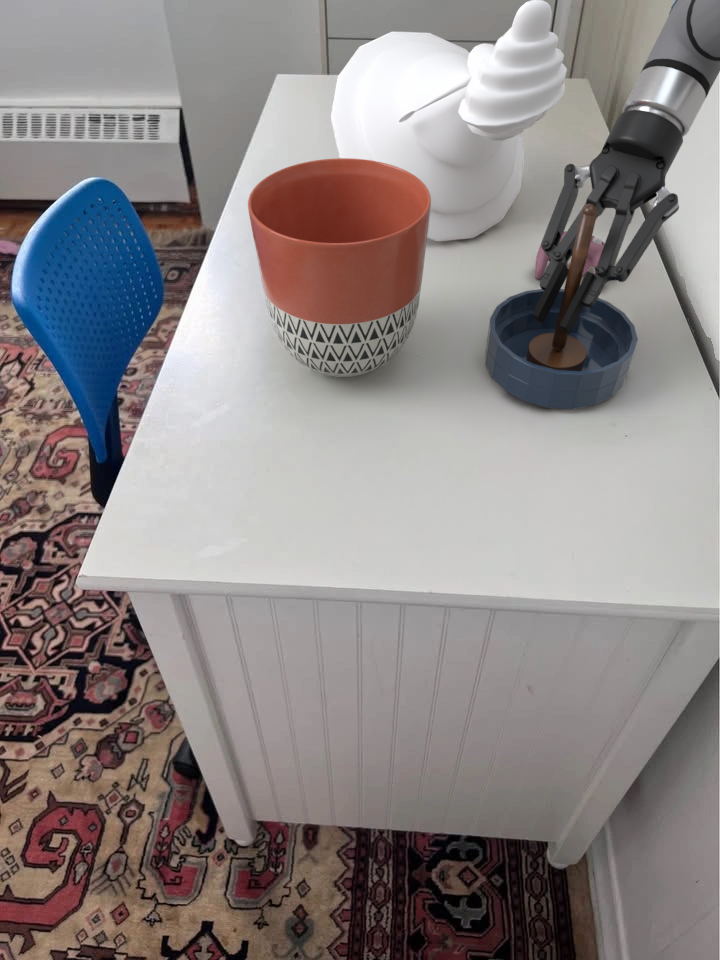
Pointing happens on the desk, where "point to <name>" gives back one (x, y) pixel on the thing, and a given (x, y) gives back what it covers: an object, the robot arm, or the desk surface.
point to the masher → (560, 346)
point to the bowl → (559, 389)
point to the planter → (341, 260)
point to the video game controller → (591, 260)
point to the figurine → (452, 114)
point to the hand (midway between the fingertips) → (551, 324)
